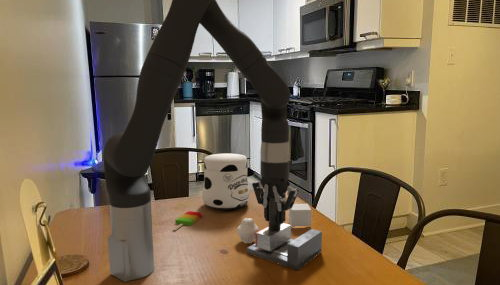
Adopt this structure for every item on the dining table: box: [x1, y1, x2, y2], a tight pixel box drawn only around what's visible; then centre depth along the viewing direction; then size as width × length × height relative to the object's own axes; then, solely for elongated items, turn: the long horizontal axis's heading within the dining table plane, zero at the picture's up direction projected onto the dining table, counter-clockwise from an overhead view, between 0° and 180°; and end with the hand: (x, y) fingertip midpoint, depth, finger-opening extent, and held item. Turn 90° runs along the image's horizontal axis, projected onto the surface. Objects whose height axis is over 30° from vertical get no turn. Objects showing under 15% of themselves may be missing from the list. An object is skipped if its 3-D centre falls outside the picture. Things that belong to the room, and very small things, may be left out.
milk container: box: [201, 152, 251, 211], centre depth 138 cm, size 17×17×18 cm
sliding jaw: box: [254, 196, 292, 251], centre depth 102 cm, size 10×5×13 cm, turn 142°
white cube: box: [288, 203, 312, 227], centre depth 120 cm, size 6×6×6 cm
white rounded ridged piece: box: [236, 217, 260, 244], centre depth 108 cm, size 6×6×7 cm
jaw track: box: [246, 228, 323, 271], centre depth 100 cm, size 12×16×6 cm
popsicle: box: [172, 211, 203, 232], centre depth 123 cm, size 6×15×2 cm, turn 162°
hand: (274, 221), depth 101 cm, fingers closed on sliding jaw, 3 cm apart
